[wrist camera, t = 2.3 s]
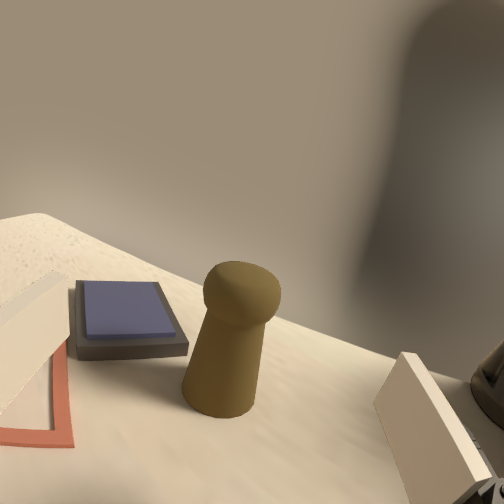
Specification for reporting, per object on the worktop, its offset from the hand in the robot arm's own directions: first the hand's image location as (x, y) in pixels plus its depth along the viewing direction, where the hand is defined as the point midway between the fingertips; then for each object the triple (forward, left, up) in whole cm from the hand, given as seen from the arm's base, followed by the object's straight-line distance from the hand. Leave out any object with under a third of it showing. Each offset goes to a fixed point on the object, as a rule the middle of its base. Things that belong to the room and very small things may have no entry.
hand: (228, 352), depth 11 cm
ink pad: (+19, +1, -11) cm, 23 cm away
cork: (+8, -5, -12) cm, 15 cm away
